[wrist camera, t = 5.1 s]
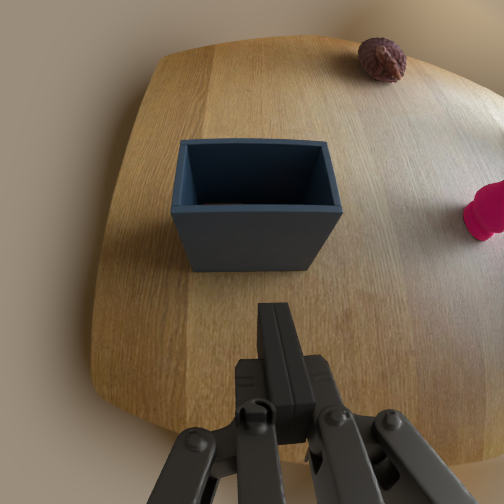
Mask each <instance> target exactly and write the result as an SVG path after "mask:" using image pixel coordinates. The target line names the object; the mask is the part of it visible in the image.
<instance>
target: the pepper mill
mask: <svg viewBox="0 0 504 504" xmlns="http://www.w3.org/2000/svg"><path fill="white" fill-rule="evenodd" d="M463 217H464V222H465V224H466V227H467V228H468V230H469V232H470V233H471V234H472V235H473V236H474V237H475V238H476V239H478V240H480V241H485V240H487V239H489V238H490V237H491V236H492V235H493V234H494V233H501V232H503V231H504V180H503V181H501V182H497V183H492V184H488V185H486V186H484V187H482V188H481V189H480V190H478V191H477V193H476V195H475V198H474V201H472V202H470V203H469V204H468V205H467V206H466V207H465V209H464V212H463Z"/></svg>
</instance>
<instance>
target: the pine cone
mask: <svg viewBox="0 0 504 504" xmlns="http://www.w3.org/2000/svg"><path fill="white" fill-rule="evenodd" d="M358 59H359V61H360V62H361V66H362V67H363V68H365V69H366V72H367V73H368V74H370V76H371V77H372V78H373V79H377V80H378V81H382V82H384V81H385V82H389V83H392V82H397V80H400V79H401V77H402V76H404V73H403V72H405V70H406V67H405V66H406V65H407V64H406V60H407V57H406V56H405V55H404V53H403V51H402V50H401V49H400V47H399V46H398V45H396V44H395V43H394V42H393V41H390V40H387V39H385V38H371V39H368V40H366V41H364V42H362V44H361V45H360V47H359V50H358Z"/></svg>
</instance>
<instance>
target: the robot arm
mask: <svg viewBox="0 0 504 504" xmlns="http://www.w3.org/2000/svg"><path fill="white" fill-rule="evenodd" d="M257 352H258V359H240V360H239V362H238V363H237V365H236V367H235V397H236V411H235V418H234V420H233V421H232V422H231V423H230V424H229V425H228V426H226V427H224V428H221V429H218V430H214V431H209V430H206V429H204V428H199V427H193V428H188V429H186V430H184V431H182V432H181V433H180V434H179V436H178V437H177V439H176V441H175V443H174V445H173V447H172V450H171V452H170V454H169V456H168V458H167V461H166V463H165V465H164V467H163V469H162V471H161V474H160V476H159V478H158V480H157V482H156V484H155V487H154V489H153V491H152V493H151V495H150V497H149V499H148V502H147V504H212V502H213V499H214V496H215V493H216V490H217V487H218V484H219V481H220V478H222V477H225V476H229V475H232V474H236V473H237V481H238V482H237V483H238V504H286V501H285V495H284V487H283V480H282V473H281V466H280V458H279V451H278V445H285V444H296V443H305V441H306V438H307V439H308V443H309V447H308V450H307V453H306V456H305V462H307V461H308V459H309V464H310V469H311V474H312V479H313V484H314V489H315V494H316V499H317V504H384V503H385V504H479V503H478V502H477V501H476V500H475V498H474V497H473V496H472V495H471V494H470V492H469V491H468V490H467V489H466V488H465V486H464V485H463V484H462V483H461V482H460V480H459V479H458V478H457V477H456V476H455V474H454V473H453V472H452V471H451V470H450V469H449V467H448V466H447V465H446V464H445V463H444V461H443V460H442V459H441V458H440V457H439V455H438V454H437V453H436V452H435V451H434V450H433V448H432V447H431V446H430V445H429V444H428V442H427V441H426V440H425V439H424V438H423V437H422V435H421V434H420V433H419V432H418V431H417V429H416V428H415V427H414V426H413V425H412V424H411V422H410V421H409V420H408V419H407V418H406V417H405V415H403V414H402V413H401V412H399V411H397V410H392V409H387V410H383V411H381V412H380V413H379V414H377V416H376V417H370V416H360V415H356V414H354V413H352V412H351V410H349V409H348V408H346V407H345V406H344V404H343V402H342V399H341V397H340V394H339V391H338V388H337V386H336V383H335V380H334V379H333V375H332V372H331V369H330V367H329V364H328V362H327V361H326V360H325V359H324V358H323V357H322V356H321V355H309V356H303V353H302V350H301V346H300V343H299V340H298V336H297V333H296V329H295V326H294V323H293V319H292V316H291V312H290V309H289V306H288V302H286V303H258V319H257Z"/></svg>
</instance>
